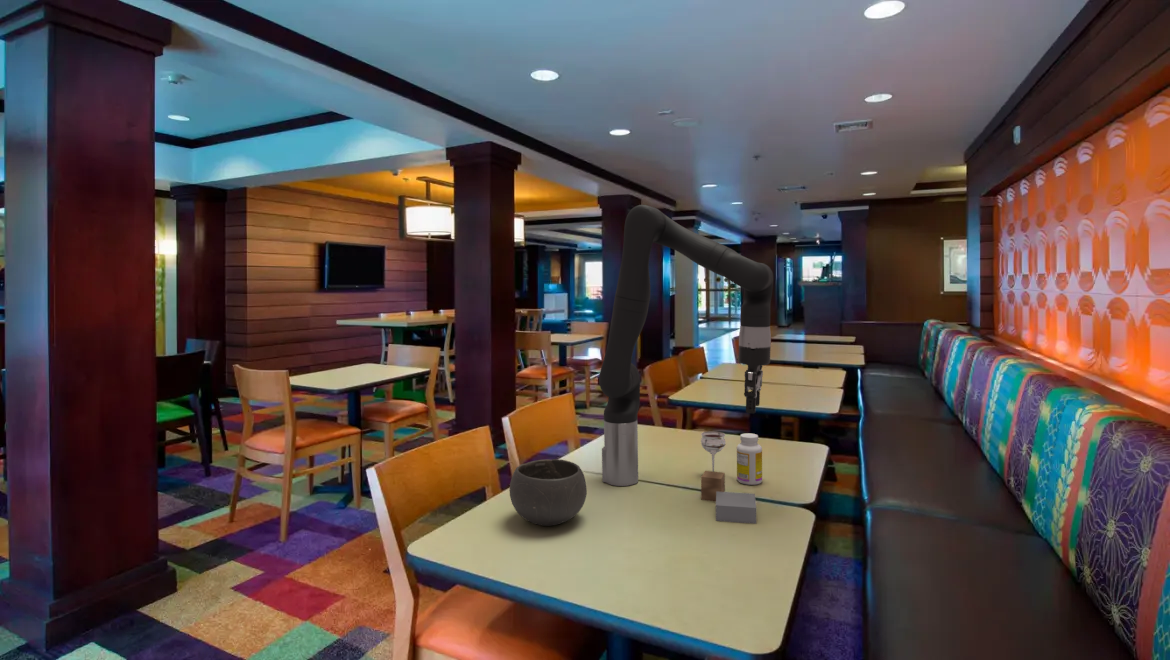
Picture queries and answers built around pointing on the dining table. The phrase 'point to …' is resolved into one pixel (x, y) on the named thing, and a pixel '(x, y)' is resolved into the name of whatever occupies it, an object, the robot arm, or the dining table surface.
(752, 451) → the supplement bottle
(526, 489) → the bowl
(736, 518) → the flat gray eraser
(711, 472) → the walnut block
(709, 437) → the wineglass
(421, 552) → the dining table surface
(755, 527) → the dining table surface
